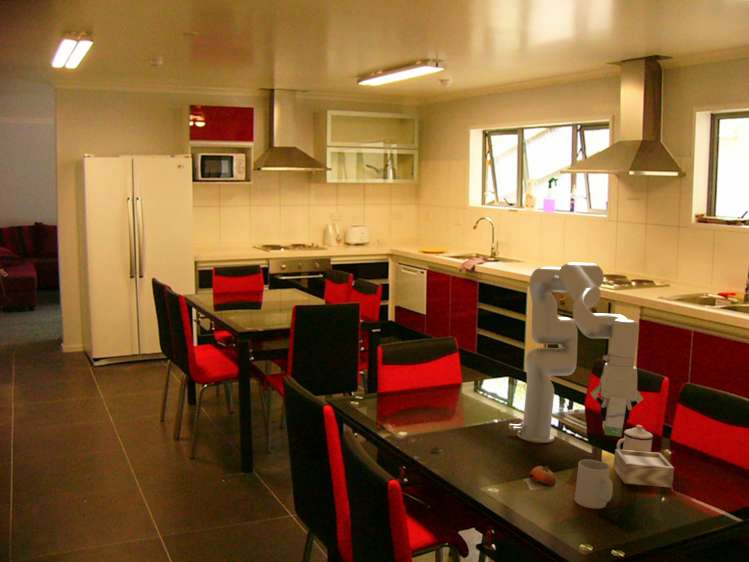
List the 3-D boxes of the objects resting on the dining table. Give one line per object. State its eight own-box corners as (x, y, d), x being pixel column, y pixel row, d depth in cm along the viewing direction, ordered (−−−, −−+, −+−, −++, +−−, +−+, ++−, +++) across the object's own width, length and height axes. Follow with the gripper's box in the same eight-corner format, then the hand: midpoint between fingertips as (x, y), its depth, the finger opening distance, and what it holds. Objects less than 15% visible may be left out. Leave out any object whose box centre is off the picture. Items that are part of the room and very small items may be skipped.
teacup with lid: (639, 455, 269) (643, 421, 268) (656, 464, 261) (660, 429, 259) (607, 456, 266) (611, 421, 265) (623, 465, 257) (627, 430, 256)
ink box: (602, 426, 244) (606, 388, 242) (619, 428, 243) (624, 390, 241) (604, 435, 235) (609, 395, 234) (622, 437, 234) (627, 398, 233)
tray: (624, 483, 241) (626, 463, 240) (613, 467, 255) (615, 449, 254) (671, 487, 240) (674, 468, 240) (658, 471, 254) (660, 452, 253)
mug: (568, 498, 225) (572, 460, 224) (592, 495, 229) (596, 458, 228) (596, 515, 215) (600, 475, 213) (621, 512, 218) (625, 473, 217)
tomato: (551, 485, 231) (539, 462, 234) (532, 496, 234) (520, 473, 237) (563, 482, 237) (550, 460, 240) (544, 493, 240) (532, 470, 243)
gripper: (594, 361, 233) (587, 421, 235) (654, 366, 232) (646, 427, 234) (588, 355, 240) (582, 414, 243) (647, 360, 239) (639, 419, 242)
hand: (613, 420), depth 239 cm, fingers closed on ink box, 5 cm apart
